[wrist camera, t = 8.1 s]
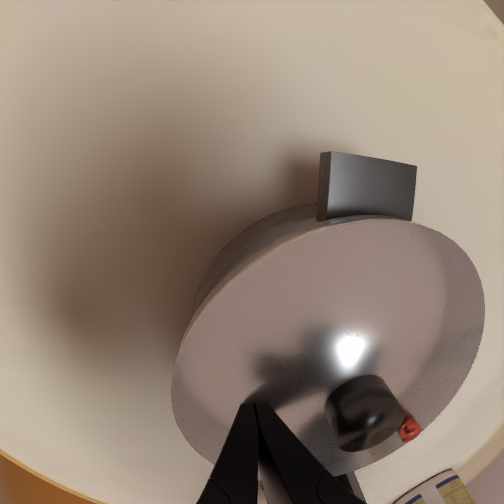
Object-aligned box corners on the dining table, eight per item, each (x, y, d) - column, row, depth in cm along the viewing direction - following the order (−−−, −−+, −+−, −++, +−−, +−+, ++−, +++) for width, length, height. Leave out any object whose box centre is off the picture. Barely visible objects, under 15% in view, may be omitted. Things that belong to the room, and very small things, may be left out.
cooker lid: (497, 228, 9) (542, 245, 6) (414, 440, 12) (432, 469, 10) (161, 206, 7) (130, 225, 5) (192, 471, 11) (190, 513, 8)
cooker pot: (287, 438, 17) (300, 489, 12) (121, 297, 13) (85, 351, 8) (442, 329, 15) (482, 366, 11) (340, 125, 11) (395, 110, 7)
